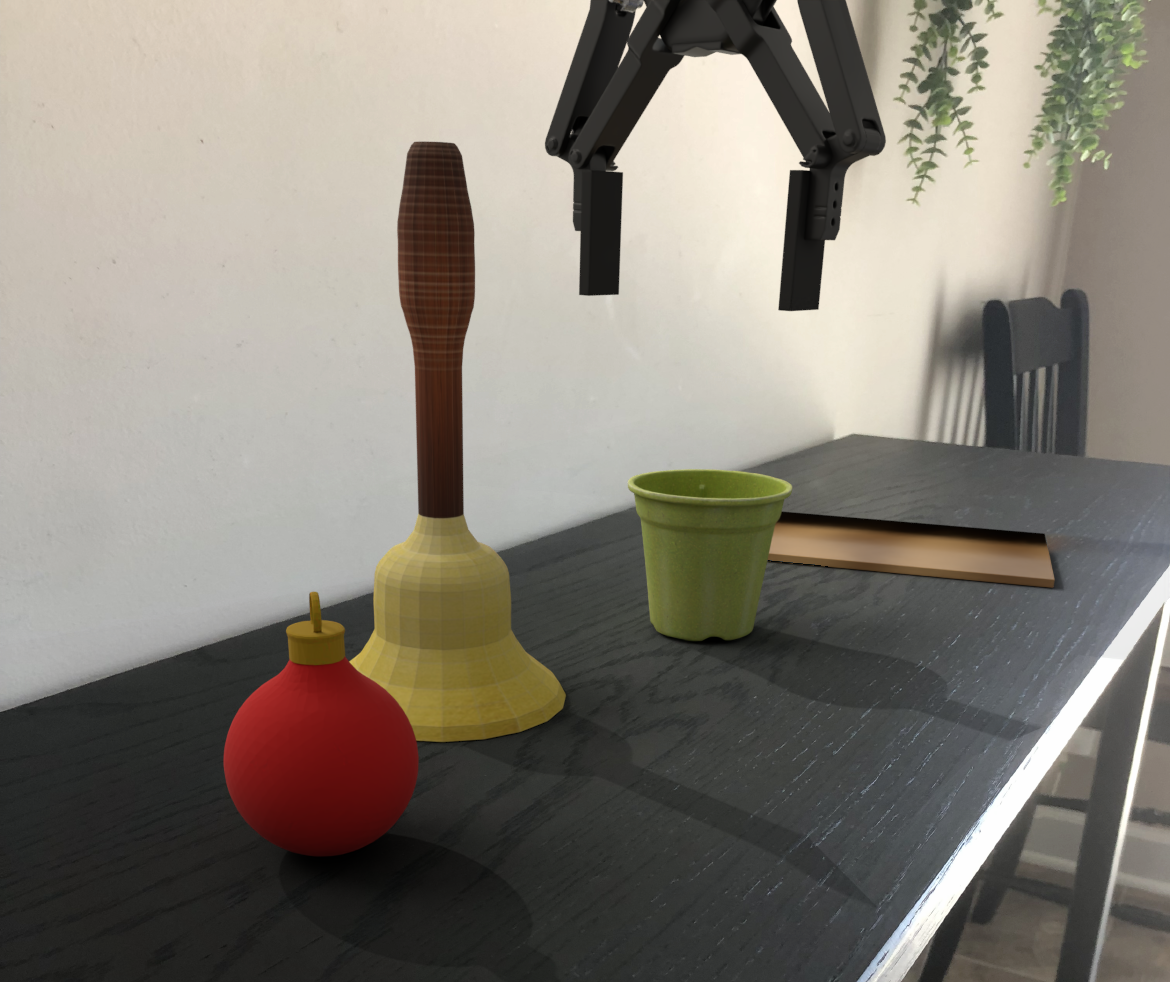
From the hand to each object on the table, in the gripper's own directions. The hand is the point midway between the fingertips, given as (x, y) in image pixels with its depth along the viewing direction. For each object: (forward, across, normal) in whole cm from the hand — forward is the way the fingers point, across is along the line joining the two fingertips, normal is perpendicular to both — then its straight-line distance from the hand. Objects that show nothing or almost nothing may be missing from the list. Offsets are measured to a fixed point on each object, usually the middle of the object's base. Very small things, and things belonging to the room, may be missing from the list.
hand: (693, 302), depth 70 cm
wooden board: (+18, 0, +28) cm, 34 cm away
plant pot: (+18, +2, 0) cm, 18 cm away
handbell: (+18, 0, -19) cm, 26 cm away
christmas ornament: (+18, +9, -34) cm, 39 cm away
